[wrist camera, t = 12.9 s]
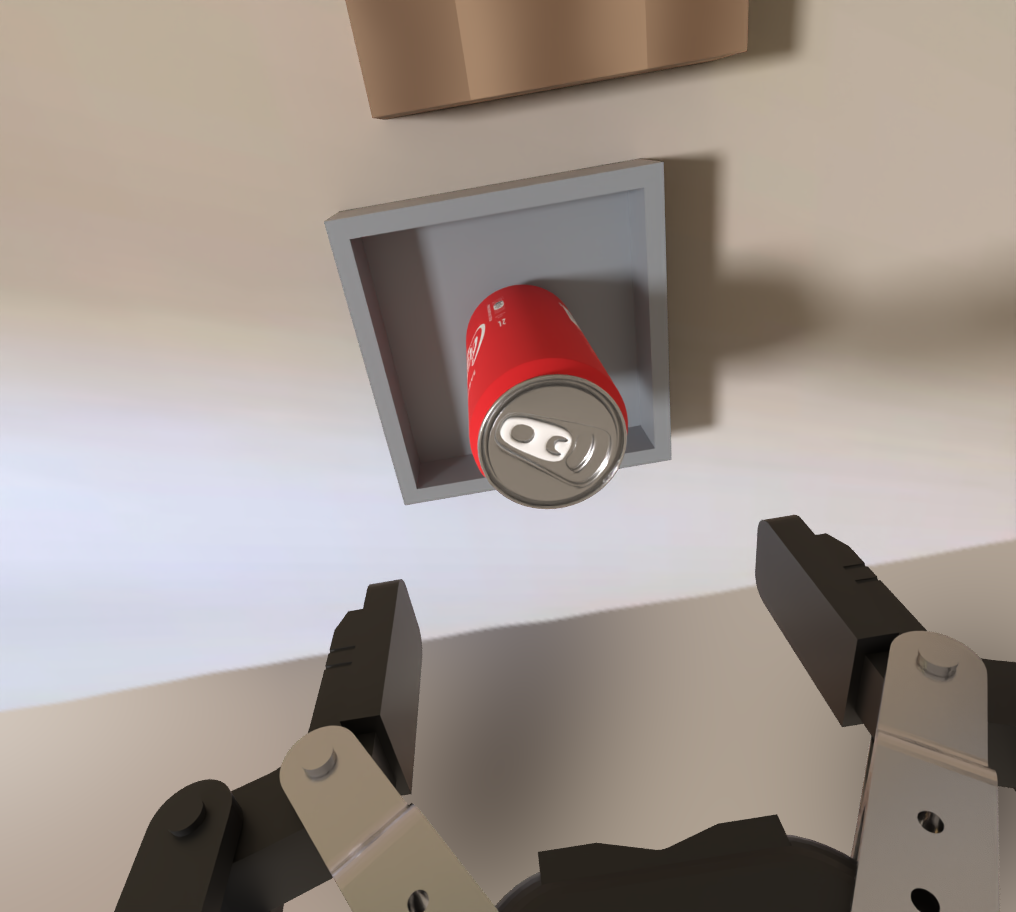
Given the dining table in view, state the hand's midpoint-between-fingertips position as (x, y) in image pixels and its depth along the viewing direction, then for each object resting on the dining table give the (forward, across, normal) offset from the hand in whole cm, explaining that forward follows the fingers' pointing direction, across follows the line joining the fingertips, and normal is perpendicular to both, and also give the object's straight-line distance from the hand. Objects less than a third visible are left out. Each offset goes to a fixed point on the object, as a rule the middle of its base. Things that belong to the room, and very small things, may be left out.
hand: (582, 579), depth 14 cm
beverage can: (+18, 0, 0) cm, 18 cm away
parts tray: (+19, 0, 0) cm, 19 cm away
